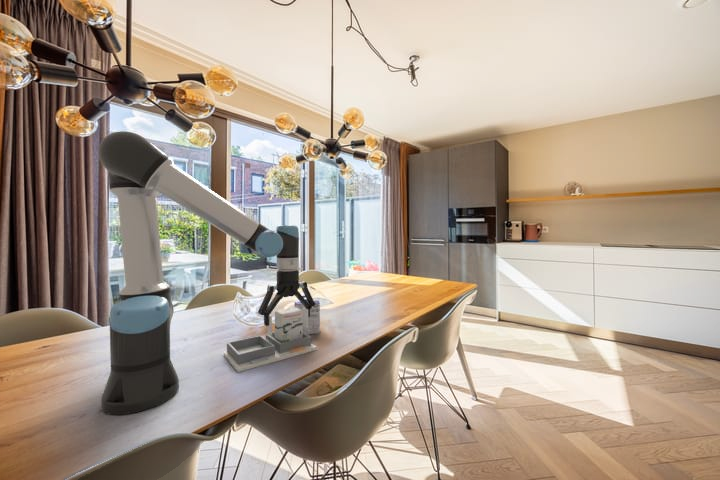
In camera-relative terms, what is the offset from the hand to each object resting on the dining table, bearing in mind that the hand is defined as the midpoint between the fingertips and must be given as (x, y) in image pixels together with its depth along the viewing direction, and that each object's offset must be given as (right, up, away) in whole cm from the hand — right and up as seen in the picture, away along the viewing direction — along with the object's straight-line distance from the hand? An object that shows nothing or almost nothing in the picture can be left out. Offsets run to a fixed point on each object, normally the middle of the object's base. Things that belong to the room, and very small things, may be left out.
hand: (288, 330), depth 104 cm
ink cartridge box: (+4, -6, +15) cm, 17 cm away
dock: (-4, -6, -5) cm, 9 cm away
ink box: (0, -5, 0) cm, 5 cm away
